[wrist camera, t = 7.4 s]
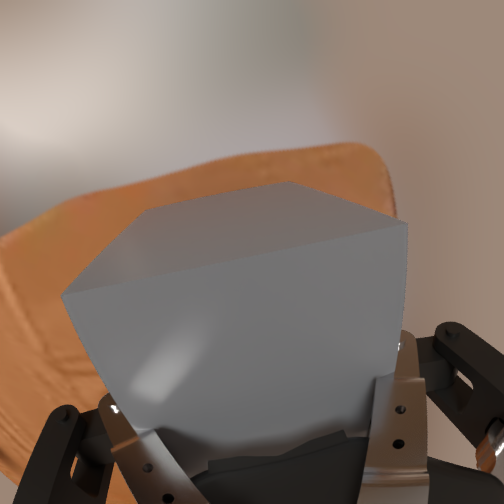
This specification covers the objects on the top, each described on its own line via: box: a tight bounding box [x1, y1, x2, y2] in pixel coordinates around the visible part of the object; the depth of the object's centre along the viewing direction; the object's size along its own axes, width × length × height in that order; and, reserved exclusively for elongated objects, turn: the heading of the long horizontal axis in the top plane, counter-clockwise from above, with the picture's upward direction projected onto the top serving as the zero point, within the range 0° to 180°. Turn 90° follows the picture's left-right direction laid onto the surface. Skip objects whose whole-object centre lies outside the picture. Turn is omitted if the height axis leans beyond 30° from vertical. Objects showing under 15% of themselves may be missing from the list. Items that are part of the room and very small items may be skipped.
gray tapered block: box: [60, 181, 408, 478], centre depth 11 cm, size 10×7×9 cm, turn 10°
